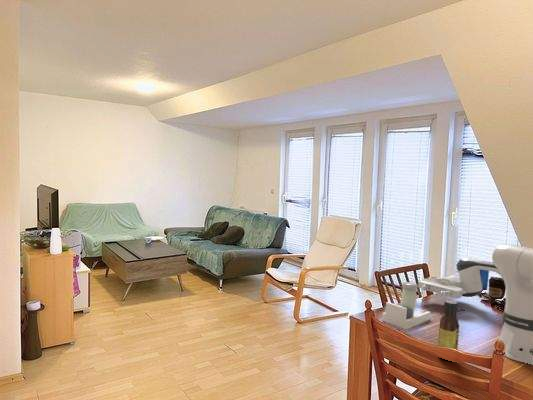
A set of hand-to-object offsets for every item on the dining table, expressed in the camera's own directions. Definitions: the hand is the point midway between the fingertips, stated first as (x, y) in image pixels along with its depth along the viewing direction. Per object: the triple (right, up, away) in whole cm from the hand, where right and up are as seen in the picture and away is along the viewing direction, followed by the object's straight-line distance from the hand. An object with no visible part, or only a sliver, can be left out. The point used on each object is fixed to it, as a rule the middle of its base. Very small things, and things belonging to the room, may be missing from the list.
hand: (432, 291), depth 185 cm
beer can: (+41, -9, +34) cm, 54 cm away
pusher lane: (-18, -9, -15) cm, 25 cm away
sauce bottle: (-16, -12, -49) cm, 53 cm away
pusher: (-22, -8, -18) cm, 29 cm away
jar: (-18, -9, -15) cm, 25 cm away
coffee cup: (+40, -10, +17) cm, 45 cm away
